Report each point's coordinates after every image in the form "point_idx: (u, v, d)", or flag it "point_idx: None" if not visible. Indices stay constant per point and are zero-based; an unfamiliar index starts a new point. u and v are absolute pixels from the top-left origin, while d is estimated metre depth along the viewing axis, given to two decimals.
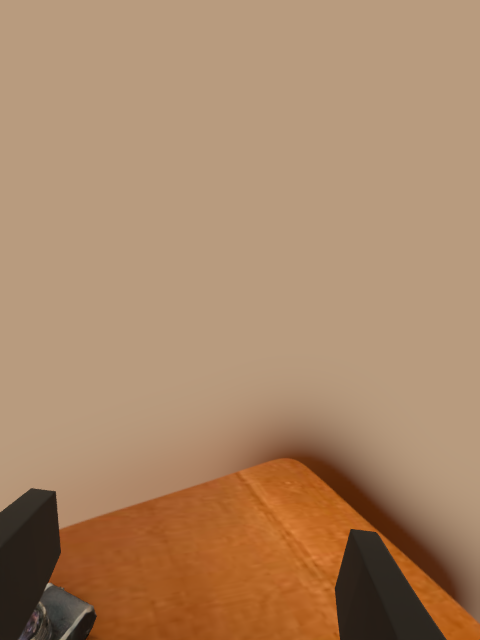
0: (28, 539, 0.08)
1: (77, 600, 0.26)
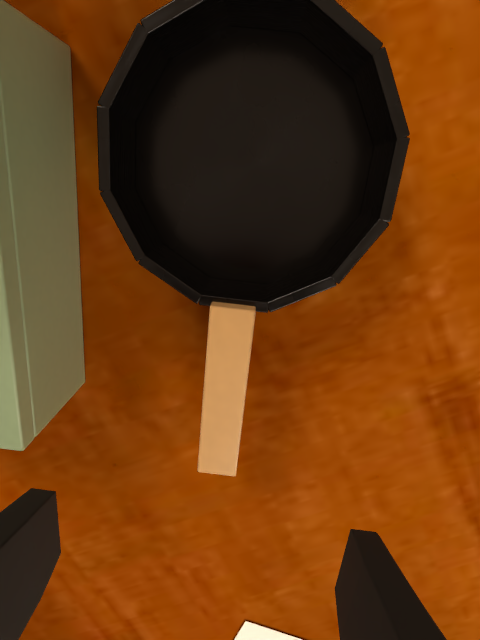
0: (28, 539, 0.08)
1: None
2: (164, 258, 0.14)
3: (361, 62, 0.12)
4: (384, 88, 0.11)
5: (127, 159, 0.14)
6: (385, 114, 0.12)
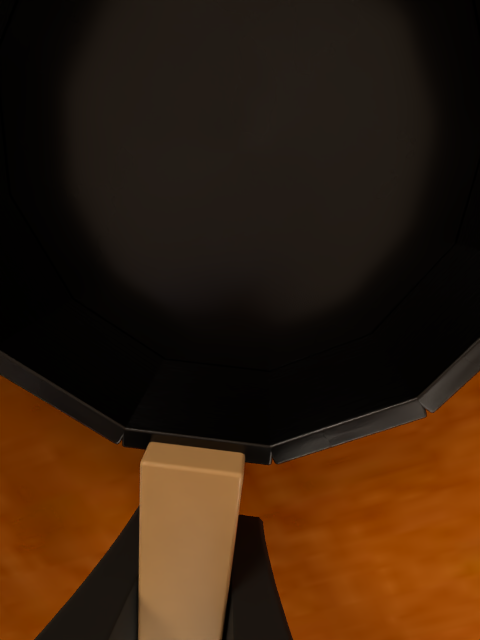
0: None
1: None
2: (54, 340, 0.07)
3: None
4: None
5: None
6: None
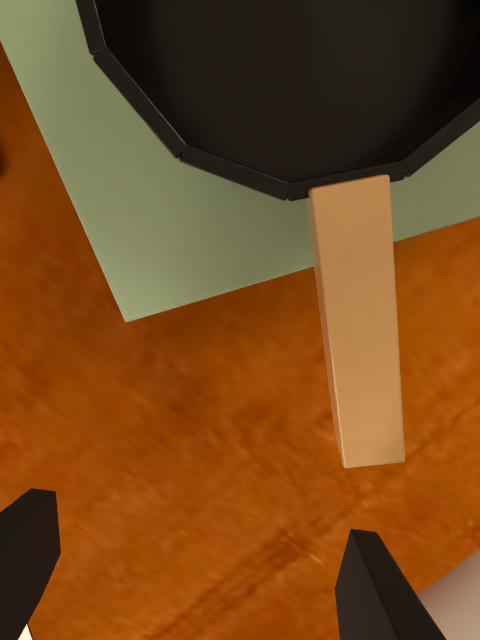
0: (28, 539, 0.08)
1: None
2: None
3: None
4: None
5: (120, 18, 0.09)
6: None
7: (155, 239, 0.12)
